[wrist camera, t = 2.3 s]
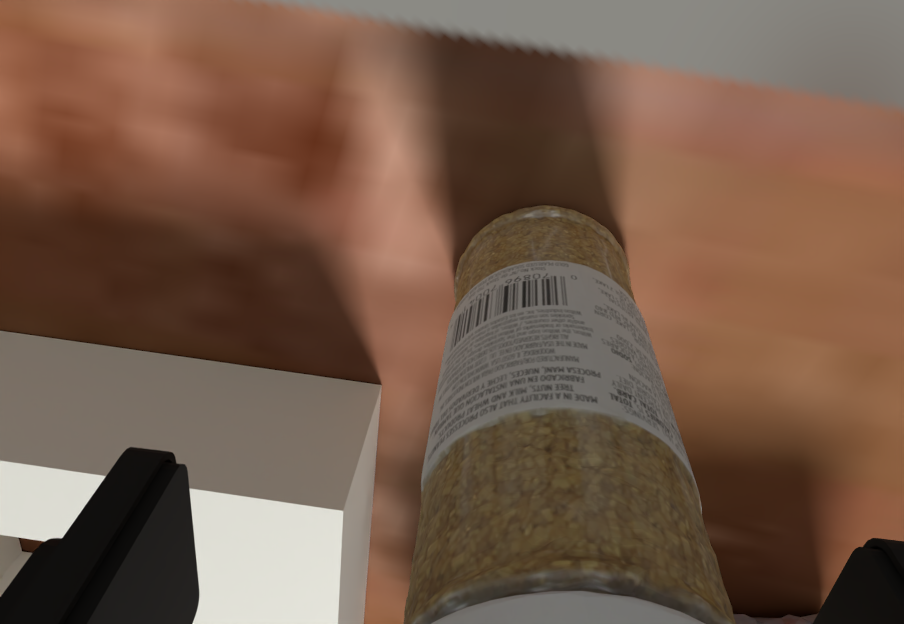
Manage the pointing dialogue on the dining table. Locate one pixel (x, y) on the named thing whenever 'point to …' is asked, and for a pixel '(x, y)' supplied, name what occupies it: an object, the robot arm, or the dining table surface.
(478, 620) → the sprinkles bottle
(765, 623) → the food item
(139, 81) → the dining table surface
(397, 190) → the dining table surface
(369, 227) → the dining table surface
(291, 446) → the socket block
